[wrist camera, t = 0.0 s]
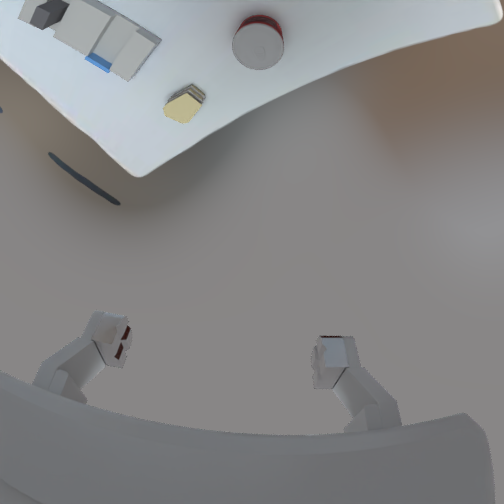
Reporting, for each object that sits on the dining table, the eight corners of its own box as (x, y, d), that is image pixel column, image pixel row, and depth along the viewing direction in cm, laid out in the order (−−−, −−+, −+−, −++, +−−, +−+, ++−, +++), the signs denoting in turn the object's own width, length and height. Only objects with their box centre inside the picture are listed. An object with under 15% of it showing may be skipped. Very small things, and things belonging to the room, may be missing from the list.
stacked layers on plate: (187, 68, 49) (180, 78, 46) (220, 95, 54) (215, 107, 51) (158, 100, 55) (149, 112, 52) (189, 123, 60) (183, 137, 57)
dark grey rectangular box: (57, -2, 30) (36, 6, 26) (70, 4, 32) (50, 12, 28) (50, 13, 32) (29, 23, 28) (62, 20, 35) (42, 30, 31)
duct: (43, -25, 24) (32, -23, 22) (161, 39, 43) (155, 44, 41) (24, 15, 31) (14, 20, 29) (132, 78, 50) (126, 84, 47)
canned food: (254, 58, 47) (250, 78, 40) (230, 27, 41) (220, 40, 35) (290, 40, 43) (294, 56, 37) (266, 7, 38) (265, 15, 31)
